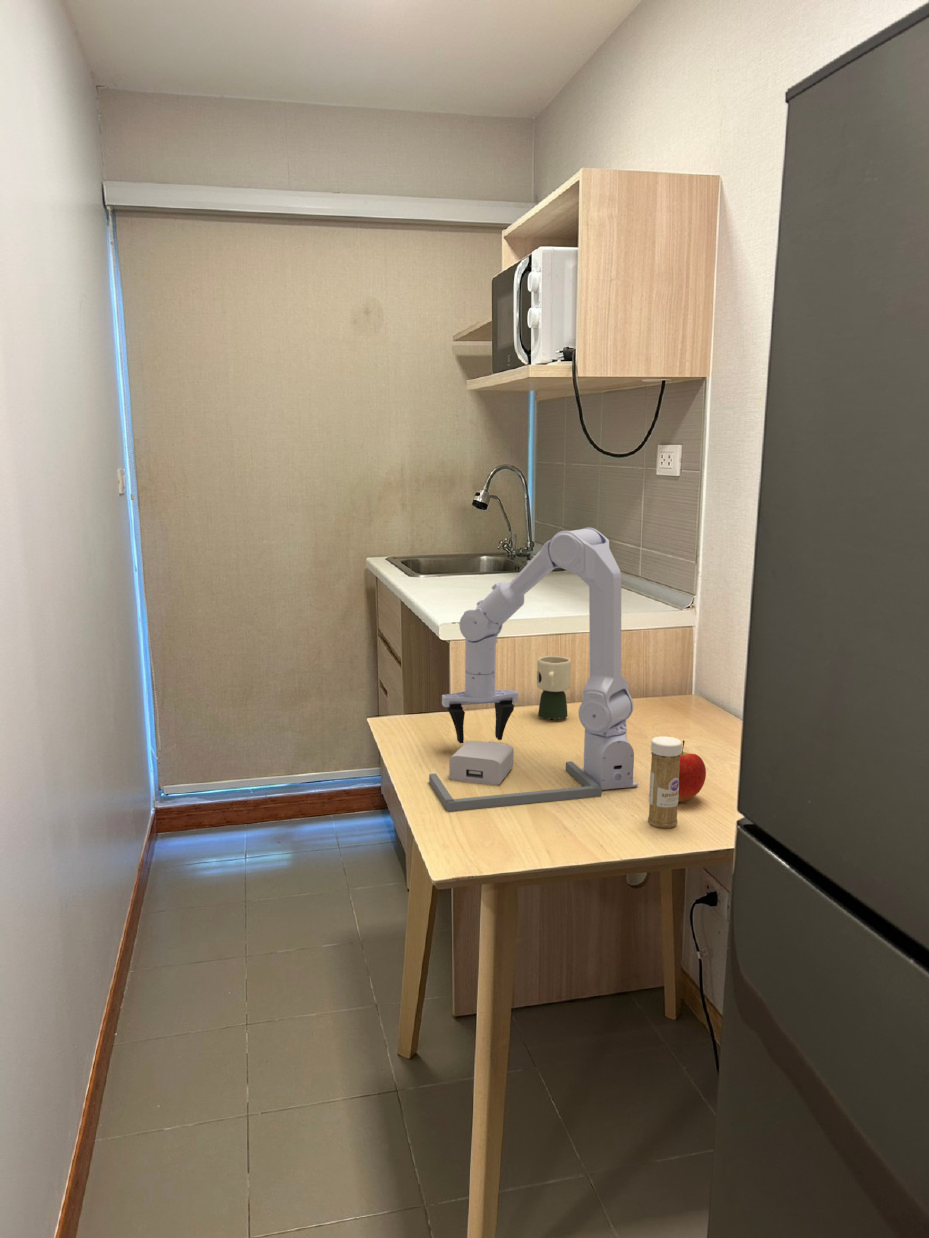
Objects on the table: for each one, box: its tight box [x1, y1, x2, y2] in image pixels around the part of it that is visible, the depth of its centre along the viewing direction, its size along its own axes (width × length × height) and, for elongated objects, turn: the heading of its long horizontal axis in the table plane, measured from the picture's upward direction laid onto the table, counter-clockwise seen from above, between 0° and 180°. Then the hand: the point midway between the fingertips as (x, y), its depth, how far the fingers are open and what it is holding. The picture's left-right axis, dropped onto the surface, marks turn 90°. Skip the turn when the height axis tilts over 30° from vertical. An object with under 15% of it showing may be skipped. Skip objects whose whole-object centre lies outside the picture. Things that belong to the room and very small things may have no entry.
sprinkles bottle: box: [647, 735, 683, 829], centre depth 137 cm, size 5×5×13 cm
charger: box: [448, 740, 514, 786], centre depth 161 cm, size 5×9×15 cm
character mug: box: [536, 655, 572, 721], centre depth 191 cm, size 11×7×13 cm, turn 167°
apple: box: [678, 739, 707, 803], centre depth 146 cm, size 8×8×10 cm
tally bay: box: [428, 761, 603, 812], centre depth 151 cm, size 13×26×2 cm, turn 105°
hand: (479, 740), depth 171 cm, fingers open, 7 cm apart
